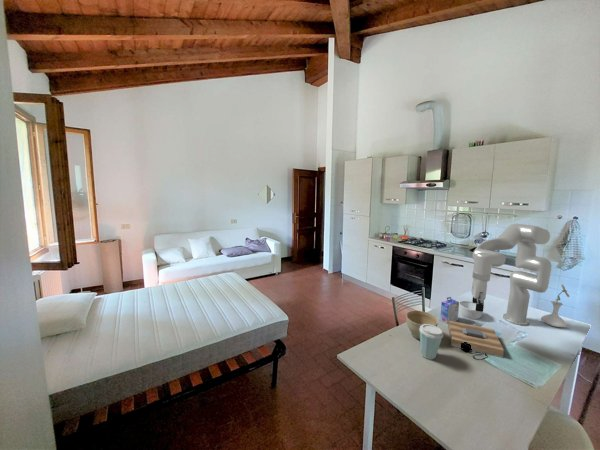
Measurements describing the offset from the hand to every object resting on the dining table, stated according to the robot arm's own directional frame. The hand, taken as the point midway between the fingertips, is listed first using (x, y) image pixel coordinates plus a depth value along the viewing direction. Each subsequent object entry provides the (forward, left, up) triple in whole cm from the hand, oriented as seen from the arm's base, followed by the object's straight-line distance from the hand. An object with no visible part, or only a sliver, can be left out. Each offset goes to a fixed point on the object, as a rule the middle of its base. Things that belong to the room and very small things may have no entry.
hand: (477, 306), depth 138 cm
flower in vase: (-42, +48, -20) cm, 67 cm away
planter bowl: (+7, -26, -20) cm, 34 cm away
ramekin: (-32, +3, -20) cm, 38 cm away
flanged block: (0, 0, -19) cm, 19 cm away
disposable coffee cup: (+24, -22, -20) cm, 38 cm away
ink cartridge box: (-19, -10, -20) cm, 29 cm away
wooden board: (0, 0, -20) cm, 20 cm away
